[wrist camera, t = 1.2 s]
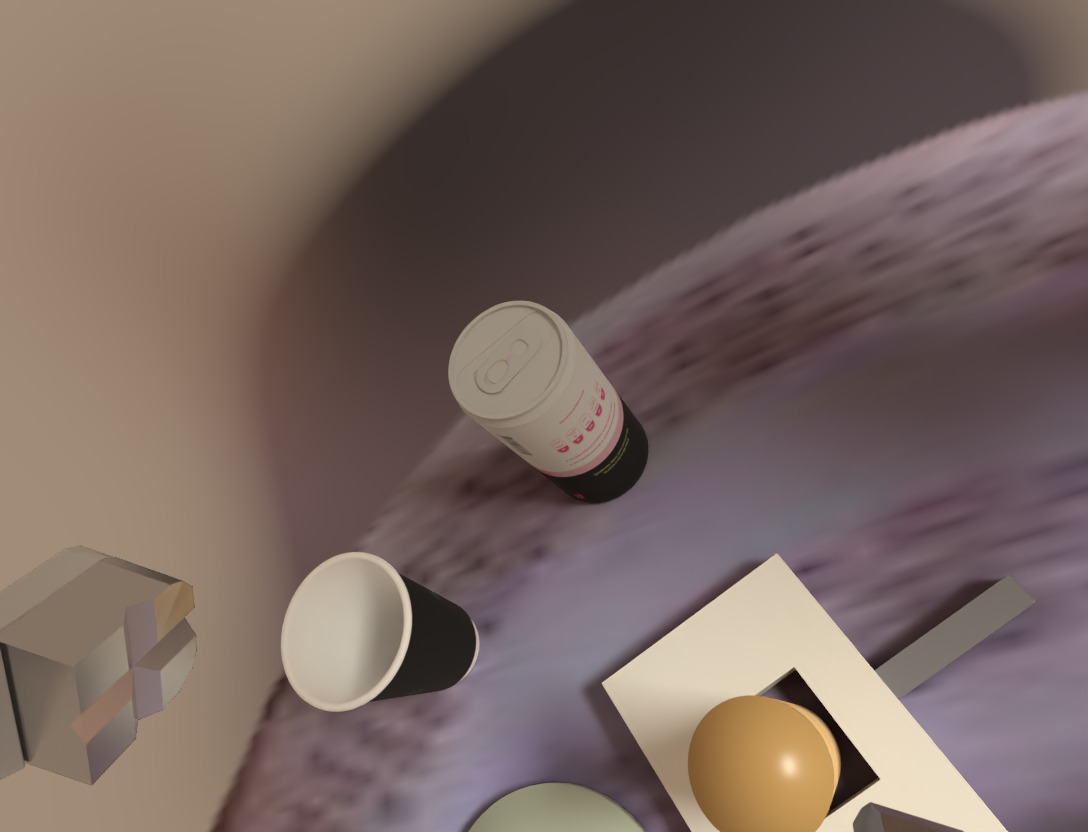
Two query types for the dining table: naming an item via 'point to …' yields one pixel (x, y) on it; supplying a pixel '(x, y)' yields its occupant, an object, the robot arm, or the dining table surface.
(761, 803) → the plug
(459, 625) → the dixie cup
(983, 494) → the dining table surface
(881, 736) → the socket block
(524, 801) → the mat
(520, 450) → the beverage can
